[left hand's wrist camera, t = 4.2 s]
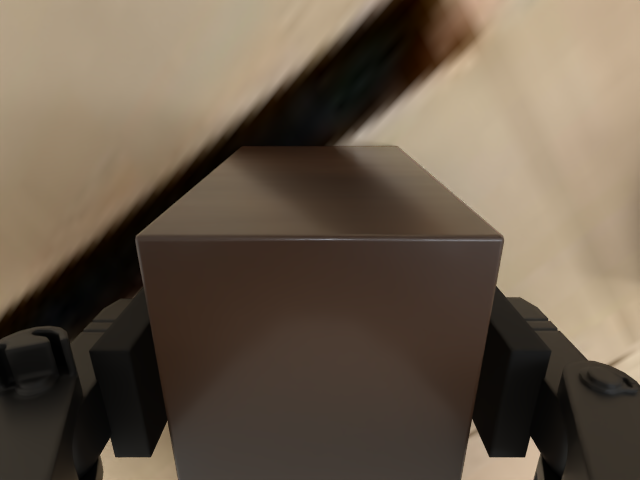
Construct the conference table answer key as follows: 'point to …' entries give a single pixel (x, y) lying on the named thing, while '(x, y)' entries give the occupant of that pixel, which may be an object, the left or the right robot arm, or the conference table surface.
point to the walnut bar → (319, 317)
